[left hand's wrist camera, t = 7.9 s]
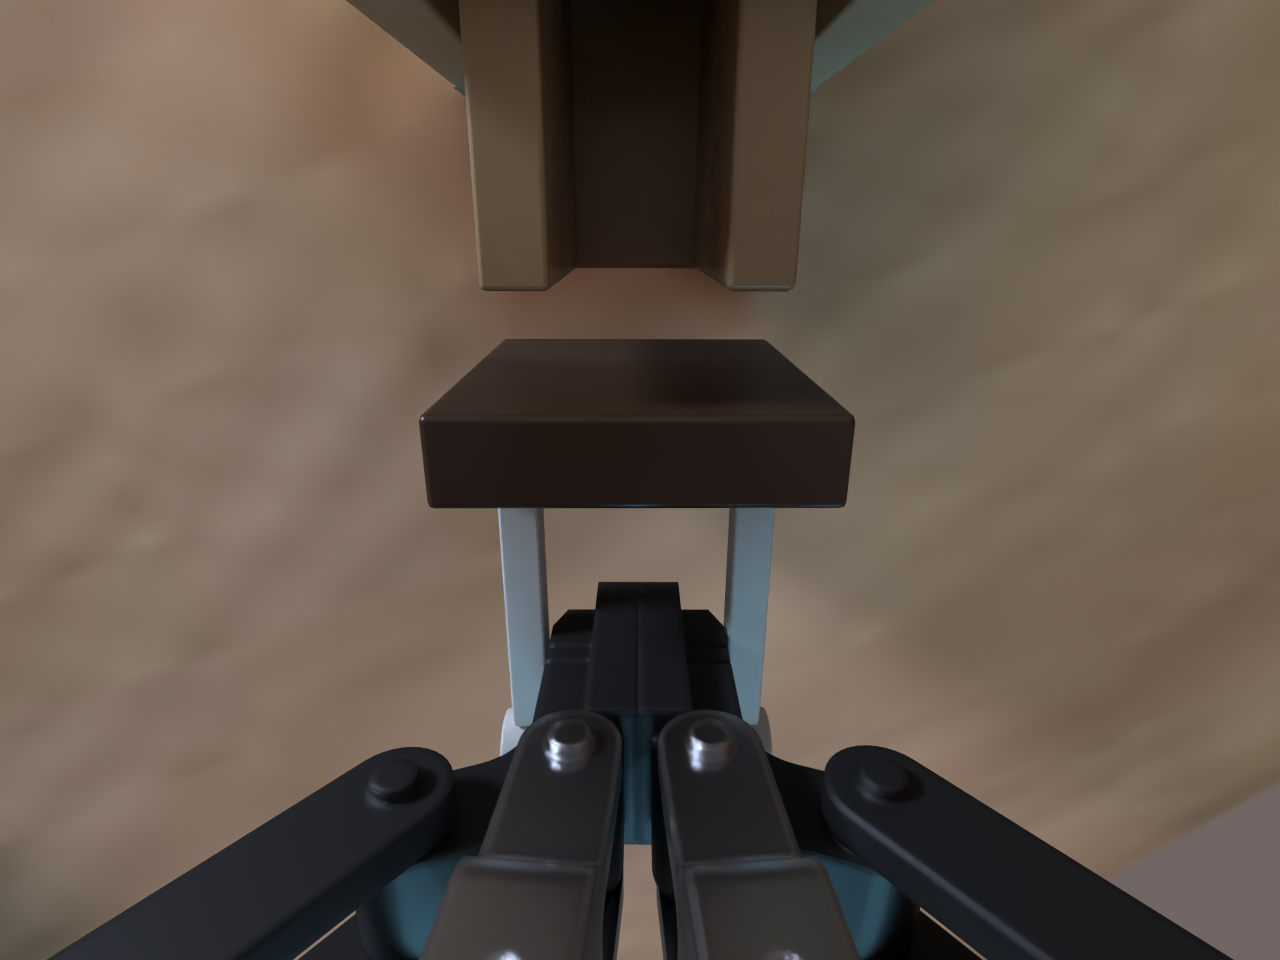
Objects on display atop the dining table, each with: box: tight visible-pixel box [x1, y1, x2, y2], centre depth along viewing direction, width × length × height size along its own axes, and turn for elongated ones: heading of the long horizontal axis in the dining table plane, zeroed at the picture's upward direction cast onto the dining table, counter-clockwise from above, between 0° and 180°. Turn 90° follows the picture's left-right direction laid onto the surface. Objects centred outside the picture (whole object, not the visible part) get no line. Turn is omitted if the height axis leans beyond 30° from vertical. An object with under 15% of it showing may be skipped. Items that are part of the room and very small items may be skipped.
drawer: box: [419, 0, 855, 756], centre depth 10 cm, size 22×5×6 cm, turn 0°
